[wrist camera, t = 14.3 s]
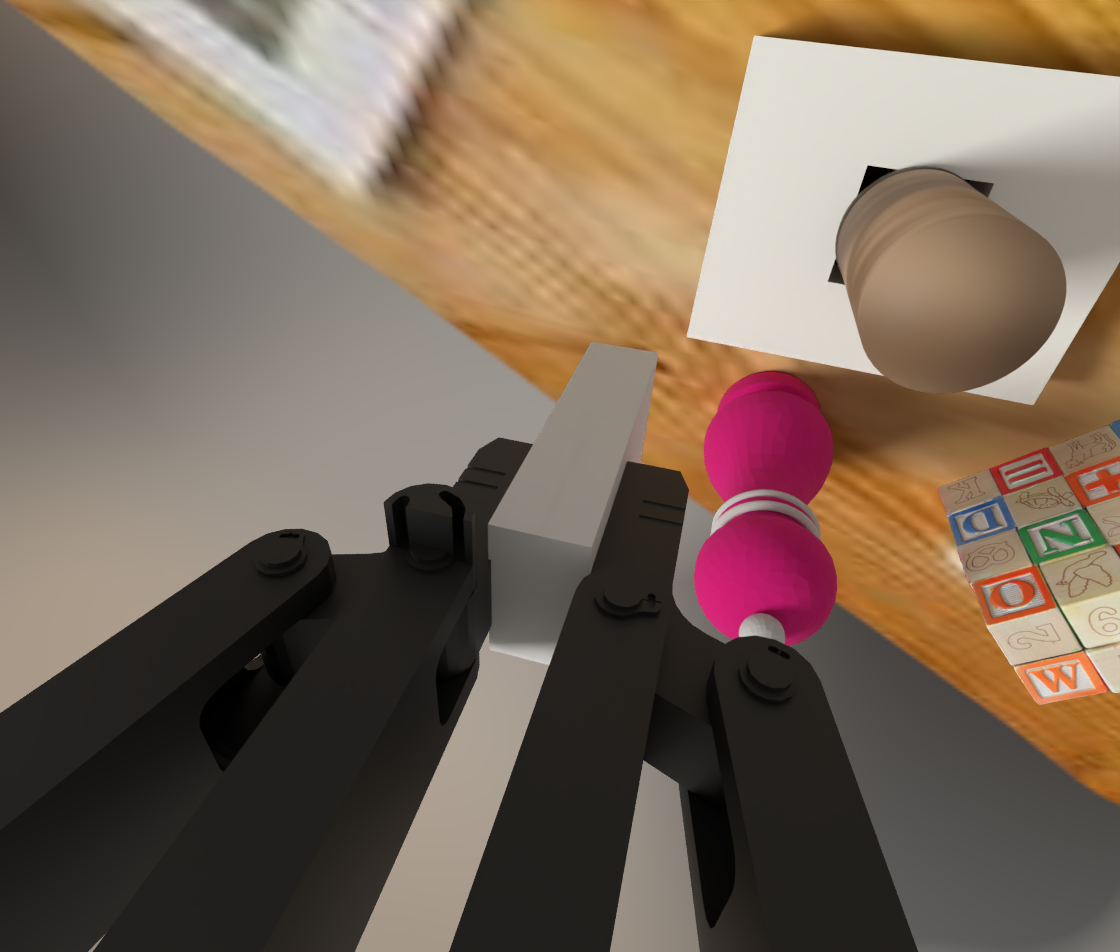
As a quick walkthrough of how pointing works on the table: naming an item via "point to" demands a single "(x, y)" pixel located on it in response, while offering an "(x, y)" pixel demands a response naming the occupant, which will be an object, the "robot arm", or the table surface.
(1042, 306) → the walnut peg
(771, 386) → the pepper mill
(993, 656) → the table surface
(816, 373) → the table surface
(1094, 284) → the cream board
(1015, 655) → the stack of blocks
